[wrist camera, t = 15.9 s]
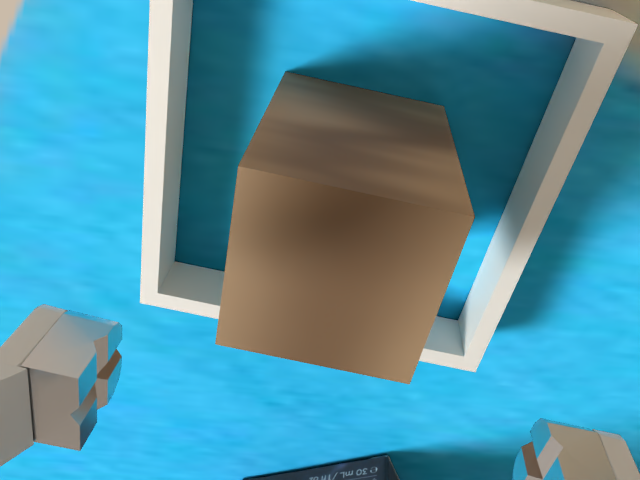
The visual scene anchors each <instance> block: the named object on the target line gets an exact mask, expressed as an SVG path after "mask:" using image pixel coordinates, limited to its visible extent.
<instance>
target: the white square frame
mask: <svg viewBox="0 0 640 480" xmlns="http://www.w3.org/2000/svg"><path fill="white" fill-rule="evenodd" d="M412 1H416V2H421V3H425V4H430V5H434V6H439V7H443V8H448V9H452V10H456V11H461V12H465V13H470V14H474V15H479V16H483V17H488V18H492V19H497V20H501V21H506V22H510V23H515V24H519V25H523V26H528V27H532V28H537V29H541V30H546V31H550V32H555V33H559V34H564V35H568V36H573V37H576V40H575V42H574V45H573V47H572V49H571V52H570V54H569V57H568V59H567V61H566V64H565V66H564V68H563V71H562V73H561V76H560V78H559V80H558V83H557V85H556V88H555V90H554V92H553V95H552V97H551V99H550V102H549V104H548V107H547V109H546V111H545V114H544V116H543V119H542V121H541V123H540V126H539V128H538V131H537V133H536V135H535V138H534V140H533V142H532V145H531V147H530V150H529V152H528V154H527V157H526V159H525V162H524V164H523V166H522V169H521V171H520V174H519V176H518V178H517V181H516V183H515V185H514V188H513V190H512V193H511V195H510V197H509V200H508V202H507V205H506V207H505V209H504V212H503V214H502V216H501V219H500V221H499V224H498V226H497V228H496V231H495V233H494V236H493V238H492V240H491V243H490V245H489V248H488V250H487V252H486V255H485V257H484V259H483V262H482V264H481V267H480V269H479V271H478V274H477V276H476V279H475V281H474V283H473V286H472V288H471V291H470V293H469V295H468V298H467V300H466V302H465V305H464V307H463V310H462V312H461V314H460V317H459V319H458V320H453V319H448V318H443V317H439V316H436V318H435V320H434V323H433V325H432V328H431V330H430V333H429V336H428V338H427V341H426V343H425V346H424V348H423V351H422V353H421V356H420V359H419V361H423V362H428V363H433V364H438V365H443V366H448V367H452V368H457V369H462V370H467V371H472V372H476V370H477V367H478V365H479V363H480V361H481V359H482V357H483V355H484V352H485V350H486V348H487V346H488V344H489V342H490V340H491V338H492V335H493V333H494V331H495V329H496V327H497V325H498V323H499V321H500V318H501V316H502V314H503V312H504V310H505V308H506V306H507V303H508V301H509V299H510V297H511V295H512V293H513V291H514V289H515V286H516V284H517V282H518V280H519V278H520V276H521V274H522V271H523V269H524V267H525V265H526V263H527V261H528V259H529V257H530V254H531V252H532V250H533V248H534V246H535V244H536V242H537V240H538V237H539V235H540V233H541V231H542V229H543V227H544V225H545V222H546V220H547V218H548V216H549V214H550V212H551V210H552V208H553V205H554V203H555V201H556V199H557V197H558V195H559V193H560V191H561V188H562V186H563V184H564V182H565V180H566V178H567V176H568V173H569V171H570V169H571V167H572V165H573V163H574V161H575V159H576V156H577V154H578V152H579V150H580V148H581V146H582V144H583V141H584V139H585V137H586V135H587V133H588V131H589V129H590V127H591V124H592V122H593V120H594V118H595V116H596V114H597V112H598V110H599V107H600V105H601V103H602V101H603V99H604V97H605V95H606V92H607V90H608V88H609V86H610V84H611V82H612V80H613V78H614V75H615V73H616V71H617V69H618V67H619V65H620V63H621V60H622V58H623V56H624V54H625V52H626V50H627V48H628V46H629V43H630V41H631V39H632V37H633V35H634V33H635V31H636V29H637V26H638V24H637V23H635V22H633V21H631V20H630V19H628V18H626V17H624V16H622V15H620V14H619V13H617V12H615V11H613V10H611V9H607V8H603V7H598V6H594V5H590V4H585V3H581V2H576V1H572V0H412ZM192 9H193V0H150V14H149V45H148V76H147V106H146V137H145V168H144V198H143V229H142V260H141V290H140V303H143V304H148V305H153V306H158V307H162V308H167V309H172V310H177V311H182V312H187V313H191V314H196V315H201V316H206V317H211V318H216V319H219V312H220V304H221V296H222V289H223V281H224V273H225V272H224V271H219V270H214V269H209V268H204V267H200V266H195V265H190V264H185V263H181V262H176V261H175V250H176V236H177V222H178V208H179V194H180V179H181V165H182V151H183V137H184V122H185V108H186V94H187V80H188V66H189V51H190V37H191V23H192Z"/></svg>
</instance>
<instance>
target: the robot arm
mask: <svg viewBox="0 0 640 480" xmlns="http://www.w3.org/2000/svg"><path fill="white" fill-rule="evenodd" d="M121 340H122V325H121V324H120V323H118V322H114V321H111V320H107V319H103V318H99V317H95V316H91V315H87V314H83V313H79V312H75V311H71V310H69V311H68V310H64V309H60V308H57V307H53V306H49V305H45V304H43V305H41V306H39V307H37V308H35V309H34V310H33V312H32V313H31V314H30V315H29V316H28V317H27V318H26V319H25V320H24V322H23V323H22V324H21V325H20V326H19V327H18V328H17V329H16V330H15V332H14V333H13V334H12V335H11V336H10V337H9V338H8V339H7V340H6V342H5V343H4V344H3V345H2V346H1V347H0V466H2V465H3V464H5V463H6V462H8V461H9V460H11V459H12V458H14V457H15V456H17V455H18V454H20V453H21V452H23V451H24V450H26V449H27V448H29V447H30V446H32V445H33V444H34V442H38V443H43V444H48V445H53V446H58V447H64V448H69V449H74V450H79V451H80V450H81V449H82V447H83V445H84V443H85V442H86V440H87V438H88V437H89V435H90V433H91V432H92V430H93V428H94V426H95V425H96V423H97V410H98V409H99V408H101V407H103V406H105V405H107V404H108V402H109V400H110V398H111V397H112V395H113V393H114V391H115V388H116V385H117V382H118V380H119V376H120V371H121V362H122V356H121V355H120V353H119V352H118V351H117V349H116V348H117V347H118V345H119V343H120V342H121ZM530 433H531V437H532V442H530V443H528V444H526V445H524V446H522V447H521V449H520V451H519V453H518V455H517V457H516V459H515V463H514V468H513V480H640V473H639V471H638V469H637V467H636V464H635V462H634V460H633V458H632V455H631V453H630V451H629V448H628V446H627V444H626V442H625V440H624V439H623V438H622V437H621V436H620V435H618V434H613V433H608V432H604V431H599V430H594V429H593V430H591V429H588V428H584V427H579V426H574V425H570V424H565V423H561V422H556V421H551V420H547V419H542V418H540V419H539V420H538V421H537V422H535V424H534V425H533V427H532V429H531V431H530Z"/></svg>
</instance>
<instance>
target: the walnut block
mask: <svg viewBox="0 0 640 480" xmlns="http://www.w3.org/2000/svg"><path fill="white" fill-rule="evenodd" d="M474 218H475V216H474V212H473V208H472V205H471V201H470V198H469V194H468V191H467V187H466V183H465V180H464V176H463V173H462V169H461V166H460V162H459V158H458V155H457V151H456V148H455V144H454V141H453V137H452V133H451V130H450V126H449V123H448V119H447V116H446V112H445V109H444V106H441V105H436V104H432V103H427V102H423V101H418V100H414V99H409V98H404V97H400V96H395V95H391V94H386V93H382V92H377V91H372V90H368V89H363V88H359V87H354V86H350V85H345V84H341V83H336V82H331V81H327V80H322V79H318V78H313V77H309V76H304V75H299V74H295V73H290V72H286V71H285V73H284V75H283V77H282V79H281V81H280V83H279V85H278V87H277V89H276V91H275V93H274V95H273V97H272V99H271V101H270V103H269V105H268V107H267V109H266V111H265V113H264V115H263V117H262V119H261V121H260V123H259V125H258V127H257V129H256V131H255V133H254V135H253V137H252V139H251V141H250V143H249V145H248V147H247V149H246V151H245V153H244V155H243V157H242V159H241V161H240V163H239V165H238V171H237V179H236V187H235V195H234V203H233V211H232V218H231V226H230V234H229V242H228V250H227V257H226V265H225V273H224V281H223V289H222V296H221V304H220V312H219V320H218V328H217V335H216V343H215V344H217V345H222V346H227V347H232V348H236V349H241V350H246V351H251V352H256V353H261V354H266V355H270V356H275V357H280V358H285V359H290V360H295V361H299V362H304V363H309V364H314V365H319V366H324V367H329V368H333V369H338V370H343V371H348V372H353V373H358V374H362V375H367V376H372V377H377V378H382V379H387V380H392V381H396V382H401V383H406V384H410V382H411V379H412V376H413V374H414V371H415V369H416V366H417V364H418V361H419V359H420V356H421V353H422V351H423V348H424V346H425V343H426V341H427V338H428V336H429V333H430V330H431V328H432V325H433V323H434V320H435V318H436V315H437V313H438V310H439V307H440V305H441V302H442V300H443V297H444V295H445V292H446V289H447V287H448V284H449V282H450V279H451V277H452V274H453V272H454V269H455V266H456V264H457V261H458V259H459V256H460V254H461V251H462V249H463V246H464V243H465V241H466V238H467V236H468V233H469V231H470V228H471V226H472V223H473V220H474Z"/></svg>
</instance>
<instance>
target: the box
mask: <svg viewBox="0 0 640 480" xmlns="http://www.w3.org/2000/svg"><path fill="white" fill-rule="evenodd" d="M246 480H400V479H399V477H398V475H397V473H396V471H395V469H394V467H393V465H392V463H391V460H390V458H389V456H387V455H385V456H379V457H373V458H371V459H367V460H360V461H354V462H347V463H342V464H336V465H331V466H325V467H319V468H314V469H308V470H302V471H297V472H290V473H284V474H278V475H272V476H268V477H259V478H251V479H246Z"/></svg>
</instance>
